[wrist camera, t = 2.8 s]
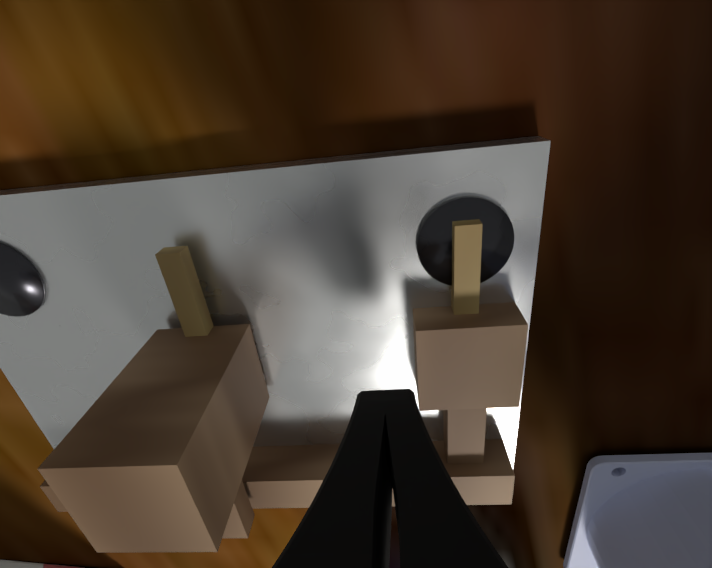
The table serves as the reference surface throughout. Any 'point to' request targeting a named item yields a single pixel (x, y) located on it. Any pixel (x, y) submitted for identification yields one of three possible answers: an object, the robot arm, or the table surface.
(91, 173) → the table surface
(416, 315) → the beam and fixed leg
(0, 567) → the ink cartridge box
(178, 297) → the sliding leg
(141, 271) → the steel plate
